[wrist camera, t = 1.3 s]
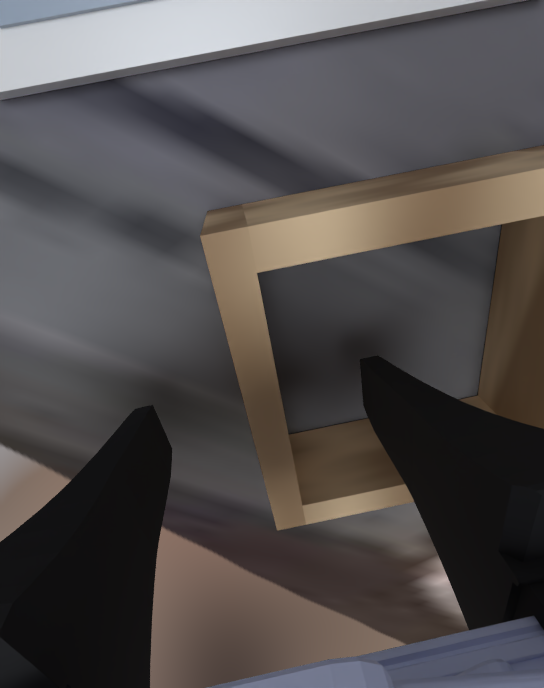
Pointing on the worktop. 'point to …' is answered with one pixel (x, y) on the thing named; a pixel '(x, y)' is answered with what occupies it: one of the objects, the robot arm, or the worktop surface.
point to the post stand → (176, 33)
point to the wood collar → (363, 235)
